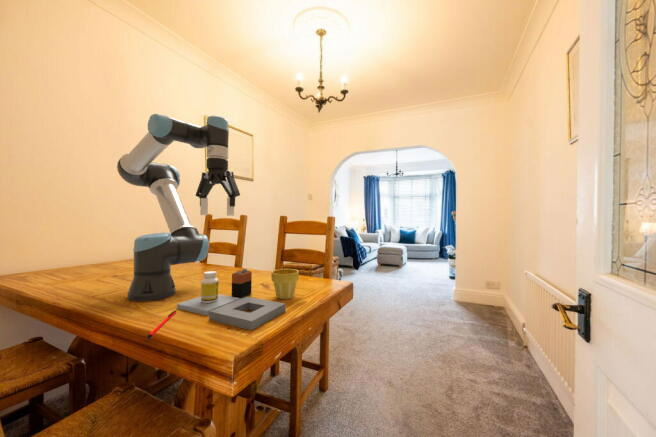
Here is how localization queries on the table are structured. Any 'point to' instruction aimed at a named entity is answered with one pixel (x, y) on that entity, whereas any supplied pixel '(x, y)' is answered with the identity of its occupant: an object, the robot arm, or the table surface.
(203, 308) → the blue-grey tile
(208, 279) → the supplement bottle
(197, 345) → the table surface
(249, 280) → the battery
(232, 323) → the pocket holder
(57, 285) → the table surface
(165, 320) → the pen
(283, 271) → the plant pot
